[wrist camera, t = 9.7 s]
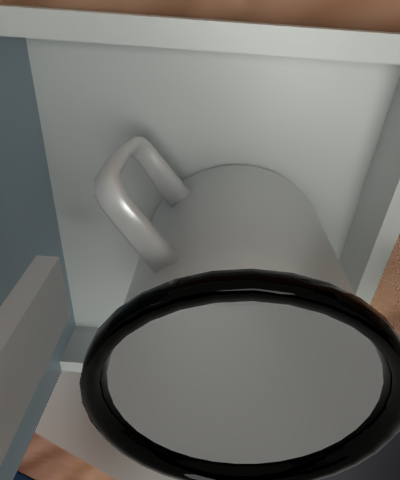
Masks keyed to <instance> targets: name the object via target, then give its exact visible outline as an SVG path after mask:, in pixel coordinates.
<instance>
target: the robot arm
mask: <svg viewBox="0 0 400 480" xmlns="http://www.w3.org/2000/svg"><path fill="white" fill-rule="evenodd" d="M69 317H70V312H69V306H68V301H67V296H66V290H65V285H64V280H63V274H62V269H61V264H60V258H59V257H55V256H40V255H37V256H36V257H35V258H34V260H33V261H32V263H31V264H30V265H29V267H28V268H27V270H26V271H25V272H24V274H23V275H22V277H21V278H20V279H19V281H18V282H17V284H16V285H15V287H14V288H13V289H12V291H11V292H10V294H9V295H8V296H7V298H6V299H5V301H4V302H3V303H2V305H1V306H0V466H1V464H2V462H3V460H4V457H5V455H6V453H7V451H8V449H9V447H10V444H11V442H12V440H13V438H14V436H15V434H16V431H17V429H18V427H19V425H20V423H21V421H22V418H23V416H24V414H25V412H26V410H27V408H28V406H29V403H30V401H31V399H32V397H33V395H34V393H35V390H36V388H37V386H38V384H39V382H40V380H41V377H42V375H43V373H44V371H45V369H46V367H47V364H48V362H49V360H50V358H51V356H52V354H53V351H54V349H55V347H56V345H57V343H58V341H59V339H60V336H61V334H62V332H63V330H64V328H65V326H66V323H67V321H68V319H69Z"/></svg>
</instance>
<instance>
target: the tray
mask: <svg viewBox="0 0 400 480" xmlns="http://www.w3.org/2000/svg"><path fill="white" fill-rule="evenodd" d="M133 137H144V138H145V139H146V140H148V141H149V142H150V143H151V144H152V145H153V146H154V148H155V149H156V150H157V151H158V152H159V154H160V155H161V156H162V157H163V159H164V160H165V161H166V162H167V163H168V165H169V166H170V167H171V168H172V170H173V171H174V172H175V173H176V175H177V176H178V177H179V178H180V179H181V181H183V180H184V179H186V178H188V177H190V176H192V175H194V174H196V173H198V172H200V171H204V170H207V169H211V168H214V167H218V166H229V165H244V166H254V167H259V168H262V169H265V170H269V171H272V172H275V173H277V174H278V175H280V176H282V177H284V178H286V179H288V180H290V181H291V182H292V183H293V184H294V185H296V186H297V187H298V188H299V189H300V190H301V191H303V193H304V194H305V195H306V197H307V198H308V199H309V201H310V202H311V203H312V205H313V207H314V209H315V211H316V213H317V216H318V218H319V220H320V222H321V224H322V226H323V228H324V230H325V232H326V235H327V237H328V239H329V241H330V243H331V245H332V247H333V249H334V251H335V254H336V256H337V258H338V260H339V262H340V264H341V266H342V268H343V271H344V273H345V275H346V277H347V279H348V281H349V283H350V285H351V287H352V290H353V292H354V294H355V295H356V296H358V297H360V298H361V299H363V300H364V301H365V302H367V303H368V304H369V305H370V303H371V301H372V298H373V296H374V294H375V291H376V289H377V286H378V284H379V282H380V279H381V277H382V274H383V272H384V270H385V267H386V265H387V263H388V260H389V258H390V255H391V253H392V251H393V248H394V246H395V243H396V241H397V239H398V236H399V234H400V32H386V31H372V30H358V29H344V28H330V27H316V26H302V25H288V24H274V23H260V22H246V21H232V20H218V19H204V18H190V17H176V16H162V15H148V14H134V13H120V12H106V11H91V10H77V9H63V8H49V7H35V6H21V5H7V4H0V306H1V305H2V303H3V302H4V301H5V299H6V298H7V296H8V295H9V294H10V292H11V291H12V289H13V288H14V287H15V285H16V284H17V282H18V281H19V279H20V278H21V277H22V275H23V274H24V272H25V271H26V270H27V268H28V267H29V265H30V264H31V263H32V261H33V260H34V258H35V257H36V256H37V255H40V256H55V257H59V258H60V264H61V269H62V274H63V280H64V285H65V290H66V296H67V301H68V306H69V312H70V317H69V319H68V321H67V323H66V326H65V328H64V330H63V332H62V334H61V336H60V339H59V341H58V343H57V345H56V347H55V349H54V351H53V354H52V356H51V358H50V360H49V362H48V364H47V367H46V369H45V371H44V373H43V375H42V377H41V380H40V382H39V384H38V386H37V388H36V390H35V393H34V395H33V397H32V399H31V401H30V403H29V406H28V408H27V410H26V412H25V414H24V416H23V418H22V421H21V423H20V425H19V427H18V429H17V431H16V434H15V436H14V438H13V440H12V442H11V444H10V447H9V449H8V451H7V453H6V455H5V457H4V460H3V462H2V464H1V466H0V480H13V479H14V477H15V474H16V472H17V470H18V468H19V465H20V463H21V461H22V459H23V456H24V454H25V452H26V450H27V447H28V445H29V443H30V441H31V438H32V436H33V434H34V432H35V430H36V427H37V425H38V423H39V421H40V418H41V416H42V414H43V412H44V409H45V407H46V404H47V402H48V400H49V398H50V396H51V394H52V391H53V389H54V387H55V385H56V382H57V380H58V378H59V375H60V373H61V371H71V372H82V367H83V362H84V359H85V355H86V352H87V349H88V347H89V345H90V343H91V341H92V339H93V337H94V335H95V334H96V332H97V330H98V328H99V327H100V326H101V325H102V324H103V323H104V322H105V321H106V320H107V319H108V318H109V317H110V316H111V314H112V313H113V312H114V311H115V310H116V309H118V308H119V307H121V306H122V305H124V302H125V299H126V296H127V293H128V290H129V287H130V284H131V281H132V278H133V275H134V272H135V269H136V266H137V263H138V260H139V257H140V255H139V254H138V253H137V251H136V250H135V249H134V248H133V247H132V245H131V244H130V243H129V242H128V241H127V239H126V238H125V237H124V236H123V235H122V234H121V232H120V231H119V230H118V229H117V228H116V226H115V225H114V224H113V223H112V222H111V220H110V219H109V218H108V217H107V215H106V214H105V213H104V212H103V210H102V209H101V208H100V206H99V204H98V202H97V200H96V198H95V196H94V178H95V177H96V175H97V174H98V172H99V171H100V169H101V167H102V166H103V164H104V163H105V161H106V160H107V158H108V157H110V156H111V155H112V154H113V153H114V152H115V151H116V150H117V149H119V148H120V147H121V146H122V145H123V144H125V143H126V142H128V141H129V140H130V139H132V138H133ZM120 182H121V184H122V186H123V188H124V190H125V192H126V193H127V194H128V196H129V197H130V198H131V200H132V201H133V202H134V204H135V205H136V206H137V207H138V208H139V209H140V210H141V212H142V213H143V214H144V215H145V216H146V217H147V218H148V219H149V221H150V222H151V221H152V218H153V215H154V213H155V211H156V209H157V208H158V206H159V204H160V202H161V201H162V200H163V198H164V197H163V196H162V194H161V193H160V192H159V190H158V189H157V187H156V186H155V185H154V183H153V182H152V181H151V179H150V178H149V177H148V175H147V174H146V172H145V171H144V170H143V168H142V167H141V166H140V164H139V163H138V162H137V161H136V160H135V159H134V158H133V157H132V156H130V157H129V158H128V160H127V162H126V164H125V166H124V168H123V170H122V172H121V174H120Z"/></svg>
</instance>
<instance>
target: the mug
mask: <svg viewBox="0 0 400 480" xmlns="http://www.w3.org/2000/svg"><path fill="white" fill-rule="evenodd" d="M130 156H132V157H133V158H134V159H135V160H136V161H137V162H138V163H139V164H140V166H141V167H142V168H143V170H144V171H145V172H146V174H147V175H148V177H149V178H150V179H151V181H152V182H153V183H154V185H155V186H156V187H157V189H158V190H159V192H160V193H161V194H162V196H163V197H164V198H163V200H162V201H161V202H160V204H159V206H158V208H157V209H156V211H155V213H154V215H153V218H152V221H151V222H150V221H149V219H148V218H147V217H146V216H145V215H144V214H143V213H142V212H141V210H140V209H139V208H138V207H137V206H136V205H135V204H134V202H133V201H132V200H131V198H130V197H129V196H128V194H127V193H126V192H125V190H124V188H123V186H122V184H121V182H120V174H121V172H122V170H123V168H124V166H125V164H126V162H127V160H128V158H129V157H130ZM94 196H95V198H96V200H97V202H98V204H99V206H100V208H101V209H102V210H103V212H104V213H105V214H106V215H107V217H108V218H109V219H110V220H111V222H112V223H113V224H114V225H115V226H116V228H117V229H118V230H119V231H120V232H121V234H122V235H123V236H124V237H125V238H126V239H127V241H128V242H129V243H130V244H131V245H132V247H133V248H134V249H135V250H136V251H137V253H138V254H139V255H140V257H139V260H138V263H137V266H136V269H135V272H134V275H133V278H132V281H131V284H130V287H129V290H128V293H127V296H126V299H125V302H124V305H122V306H121V307H119V308H118V309H116V310H115V311H114V312H113V313H112V314H111V316H110V317H109V318H108V319H107V320H106V321H105V322H104V323H103V324H102V325H101V326H100V327H99V328H98V330H97V332H96V334H95V335H94V337H93V339H92V341H91V343H90V345H89V347H88V349H87V352H86V355H85V359H84V362H83V367H82V373H81V378H80V390H81V397H82V403H83V406H84V408H85V410H86V412H87V414H88V417H89V419H90V421H91V422H92V423H93V425H94V426H95V427H96V429H97V430H98V431H99V432H100V434H101V435H102V436H103V437H104V438H105V439H106V440H107V441H108V442H109V443H110V444H111V445H112V446H114V447H115V448H116V449H117V450H118V451H120V452H121V453H122V454H123V455H125V456H127V457H128V458H130V459H132V460H133V461H135V462H137V463H138V464H140V465H142V466H144V467H146V468H148V469H151V470H153V471H155V472H158V473H160V474H162V475H165V476H168V477H172V478H175V479H178V480H320V479H323V478H327V477H330V476H333V475H336V474H338V473H340V472H343V471H345V470H347V469H349V468H352V467H354V466H356V465H358V464H360V463H361V462H363V461H364V460H366V459H367V458H369V457H370V456H372V455H374V454H376V453H377V452H378V451H379V450H380V449H381V448H383V447H384V446H385V445H386V444H387V443H388V442H389V441H390V440H391V439H392V438H393V437H394V436H395V435H396V434H397V433H398V431H399V430H400V336H399V335H398V333H397V332H396V331H395V329H394V328H393V327H392V325H391V324H390V323H389V321H388V320H387V319H386V317H384V316H383V315H382V314H381V313H379V312H378V311H377V310H376V309H374V308H373V307H372V306H370V305H369V304H368V303H367V302H365V301H364V300H363V299H361V298H360V297H358V296H356V295H355V294H354V292H353V290H352V287H351V285H350V283H349V281H348V279H347V277H346V275H345V273H344V271H343V268H342V266H341V264H340V262H339V260H338V258H337V256H336V254H335V251H334V249H333V247H332V245H331V243H330V241H329V239H328V237H327V235H326V232H325V230H324V228H323V226H322V224H321V222H320V220H319V218H318V216H317V213H316V211H315V209H314V207H313V205H312V203H311V202H310V201H309V199H308V198H307V197H306V195H305V194H304V193H303V191H301V190H300V189H299V188H298V187H297V186H296V185H294V184H293V183H292V182H291V181H290V180H288V179H286V178H284V177H282V176H280V175H278V174H277V173H275V172H272V171H269V170H265V169H262V168H259V167H254V166H244V165H229V166H218V167H214V168H211V169H207V170H204V171H200V172H198V173H196V174H194V175H192V176H190V177H188V178H186V179H184V180H183V181H181V179H180V178H179V177H178V176H177V175H176V173H175V172H174V171H173V170H172V168H171V167H170V166H169V165H168V163H167V162H166V161H165V160H164V159H163V157H162V156H161V155H160V154H159V152H158V151H157V150H156V149H155V148H154V146H153V145H152V144H151V143H150V142H149V141H148V140H146V139H145V138H144V137H133V138H132V139H130V140H129V141H128V142H126V143H125V144H123V145H122V146H121V147H120V148H119V149H117V150H116V151H115V152H114V153H113V154H112V155H111V156H110V157H108V158H107V160H106V161H105V163H104V164H103V166H102V167H101V169H100V171H99V172H98V174H97V175H96V177H95V178H94Z"/></svg>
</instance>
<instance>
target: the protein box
mask: <svg viewBox="0 0 400 480" xmlns="http://www.w3.org/2000/svg"><path fill="white" fill-rule="evenodd" d="M13 480H33V479H31V478H29V477H27V476H25V475H23V474H21V473H19V472H18V471H17V472H16V474H15V477H14V479H13Z"/></svg>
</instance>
